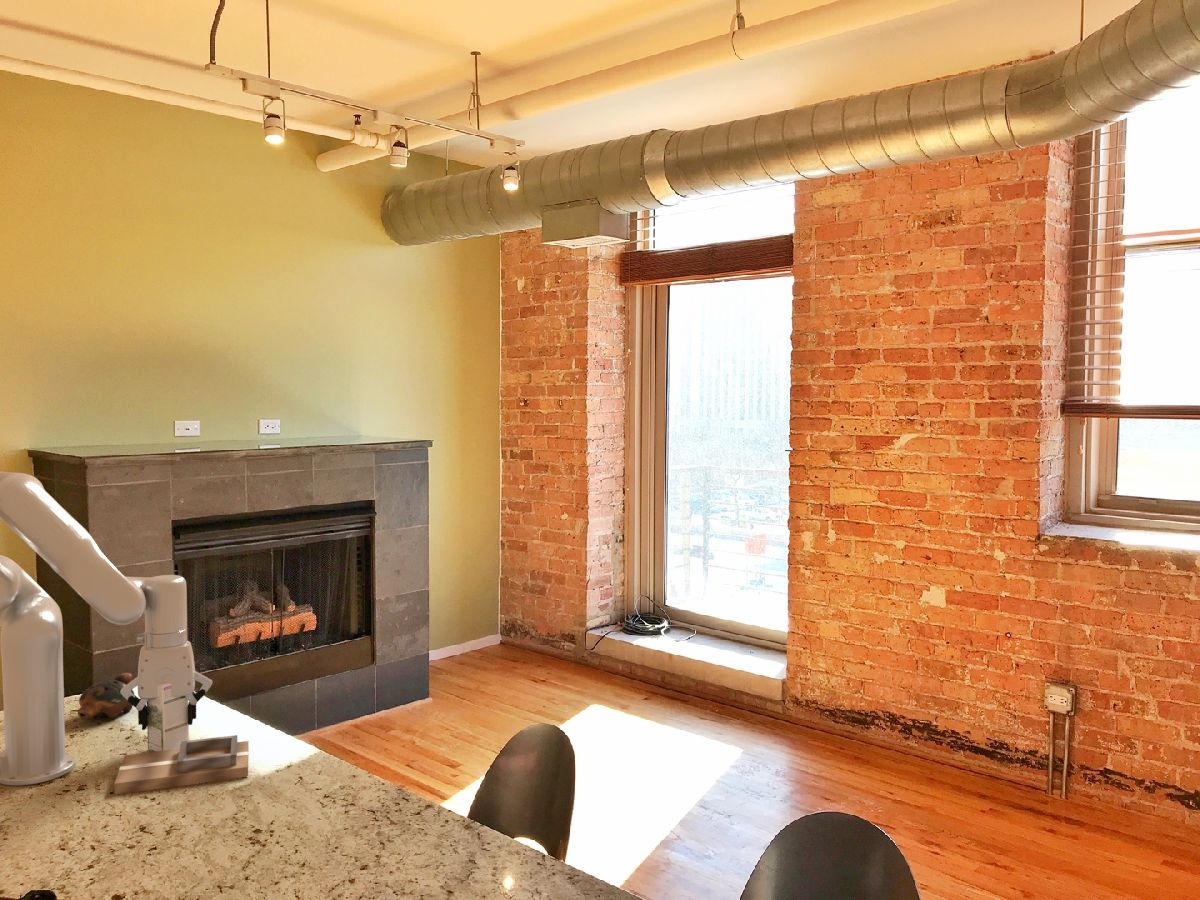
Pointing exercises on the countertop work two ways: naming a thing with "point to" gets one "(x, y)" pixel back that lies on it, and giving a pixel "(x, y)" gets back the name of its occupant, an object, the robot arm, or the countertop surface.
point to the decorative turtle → (105, 698)
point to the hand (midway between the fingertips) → (167, 724)
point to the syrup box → (167, 720)
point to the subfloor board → (184, 765)
